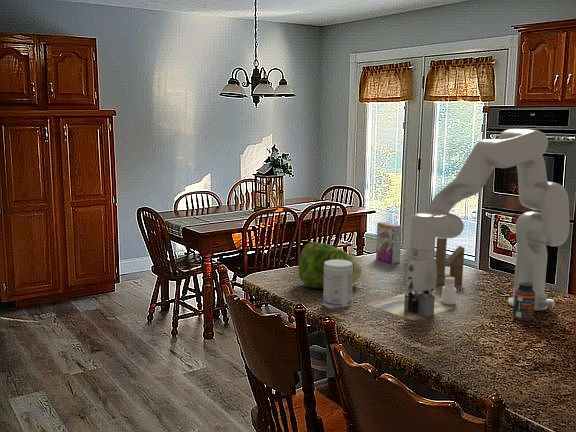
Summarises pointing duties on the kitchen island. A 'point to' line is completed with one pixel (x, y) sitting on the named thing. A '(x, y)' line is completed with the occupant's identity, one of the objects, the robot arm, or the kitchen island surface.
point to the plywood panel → (397, 307)
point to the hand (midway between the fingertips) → (418, 309)
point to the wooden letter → (448, 262)
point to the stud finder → (422, 305)
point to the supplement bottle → (524, 302)
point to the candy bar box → (388, 242)
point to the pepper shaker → (449, 291)
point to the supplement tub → (337, 283)
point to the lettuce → (321, 263)
